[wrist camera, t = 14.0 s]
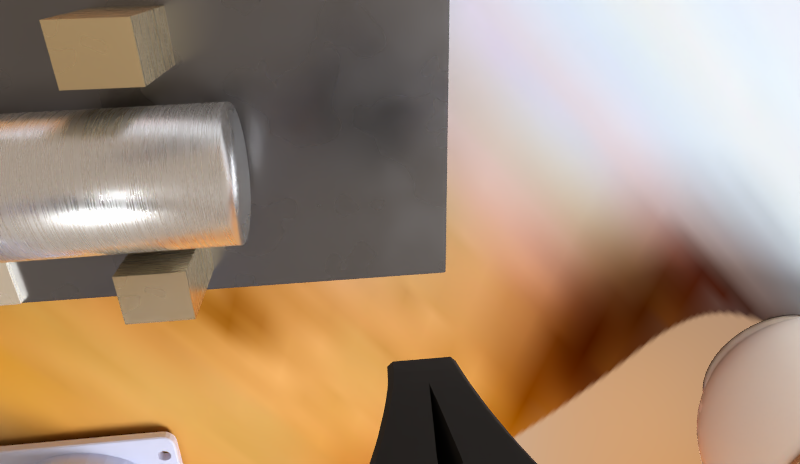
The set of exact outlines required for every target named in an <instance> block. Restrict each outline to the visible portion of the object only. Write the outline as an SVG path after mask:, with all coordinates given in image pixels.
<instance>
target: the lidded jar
mask: <svg viewBox="0 0 800 464" xmlns="http://www.w3.org/2000/svg"><path fill="white" fill-rule="evenodd" d="M697 438H698V446H699V451H700V456H701V461H702V464H800V316H799V315H788V316H780V317H775V318H771V319H768V320H765V321H762V322H759V323H757V324H755V325H753V326H751V327H749V328H747V329H746V330H744V331H742V332H741V333H739V334H738V335H736V336H735V337H734V338H732V339H731V340H730V341H729V342H728V343H727V344H726V345H725V346H723V348H722V349H721V350H720V351H719V352H718V353H717V354H716V356H715V357H714V359H713V360H712V362H711V364H710V365H709V367H708V369H707V372H706V374H705V378H704V382H703V394H702V398H701V401H700V405H699V409H698V418H697Z"/></svg>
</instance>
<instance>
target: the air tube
mask: <svg viewBox="0 0 800 464" xmlns="http://www.w3.org/2000/svg"><path fill="white" fill-rule="evenodd" d="M250 214H251V194H250V177H249V167H248V159H247V152H246V146H245V140H244V136H243V131H242V127H241V123H240V120H239V117H238V114H237V112H236V109H235V108H234V106H233V104H232V103H231V102H212V103H193V104H175V105H156V106H137V107H119V108H100V109H81V110H63V111H44V112H26V113H7V114H0V263H6V262H20V261H33V260H47V259H61V258H74V257H88V256H102V255H115V254H129V253H143V252H156V251H170V250H184V249H197V248H211V247H225V246H238V245H244V244H245V242H246V240H247V237H248V233H249V227H250Z"/></svg>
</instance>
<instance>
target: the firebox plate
mask: <svg viewBox="0 0 800 464" xmlns="http://www.w3.org/2000/svg"><path fill="white" fill-rule="evenodd" d="M448 59H449V0H0V114H7V113H26V112H44V111H63V110H81V109H100V108H119V107H137V106H156V105H175V104H193V103H212V102H231V103H232V104H233V106H234V108H235V109H236V112H237V114H238V117H239V120H240V123H241V127H242V131H243V136H244V140H245V146H246V152H247V159H248V167H249V177H250V194H251V214H250V227H249V233H248V237H247V240H246V242H245V244H244V245H238V246H225V247H211V248H197V249H184V250H170V251H156V252H143V253H129V254H115V255H102V256H88V257H74V258H61V259H47V260H33V261H20V262H6V263H0V305H13V304H21V303H25V302H39V301H53V300H67V299H81V298H95V297H109V296H117V297H118V300H119V304H120V307H121V311H122V314H123V318H124V321H125V324H137V323H150V322H163V321H177V320H190V319H196V316H197V314H198V311H199V308H200V306H201V303H202V300H203V297H204V295H205V292H206V289H220V288H234V287H248V286H261V285H275V284H289V283H303V282H317V281H331V280H345V279H359V278H373V277H386V276H400V275H414V274H428V273H442V272H445V264H446V196H447V128H448Z"/></svg>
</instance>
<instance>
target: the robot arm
mask: <svg viewBox="0 0 800 464" xmlns="http://www.w3.org/2000/svg"><path fill="white" fill-rule="evenodd" d="M387 369H388V390H387V397H386V403H385V409H384V414H383V418H382V422H381V426H380V431H379V435H378V439H377V442H376V446H375V449H374V452H373V455H372V458H371V461H370V464H537V463H536V462H535V461H534V460H533V459H532V458H531V457H530V456H529V455H528V454H527V453H526V451H525V450H524V449H523V448H522V447H521V446H520V445H519V444H518V443H517V442H516V441H515V439H514V438H513V437H512V436H511V435H510V434H509V433H508V431H507V430H506V429H505V428H504V427H503V425H502V424H501V423H500V422H499V420H498V419H497V418H496V417H495V416H494V414H493V413H492V412H491V411H490V409H489V408H488V407H487V406H486V404H485V403H484V402H483V400H482V399H481V398H480V396H479V395H478V394H477V392H476V391H475V390H474V388H473V387H472V385H471V384H470V383H469V381H468V380H467V378H466V377H465V375H464V374H463V372H462V371H461V369H460V368H459V366H458V364H457V363H456V361H455V360H454V359H452V358H451V357H443V358H431V359H420V360H408V361H396V362H392V363H391V364H390V365H389V366H388V367H387ZM162 451H167V452H169V453H164V452H162ZM0 464H183V462H182V458H181V454H180V450H179V447H178V443H177V439H176V437H175V436H174V435H173V434H171V433H169V432H163V431H161V432H150V433H139V434H128V435H118V436H107V437H96V438H85V439H74V440H63V441H52V442H41V443H30V444H19V445H8V446H0Z"/></svg>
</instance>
